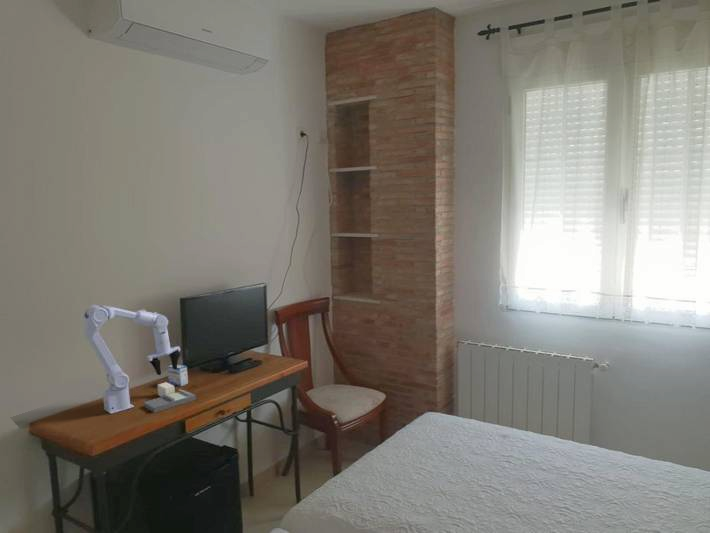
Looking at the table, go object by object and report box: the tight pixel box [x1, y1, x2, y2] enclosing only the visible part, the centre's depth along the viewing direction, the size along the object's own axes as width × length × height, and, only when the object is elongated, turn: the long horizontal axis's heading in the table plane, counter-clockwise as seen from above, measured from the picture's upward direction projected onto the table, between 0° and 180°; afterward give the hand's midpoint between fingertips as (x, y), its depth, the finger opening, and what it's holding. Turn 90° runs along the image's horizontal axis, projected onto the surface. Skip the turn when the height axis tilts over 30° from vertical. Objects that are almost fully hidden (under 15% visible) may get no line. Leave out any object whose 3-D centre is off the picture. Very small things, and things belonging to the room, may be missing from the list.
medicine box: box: [167, 364, 189, 387], centre depth 250 cm, size 8×4×9 cm, turn 62°
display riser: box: [143, 388, 197, 413], centre depth 225 cm, size 18×10×3 cm, turn 134°
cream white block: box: [157, 381, 176, 397], centre depth 234 cm, size 4×8×5 cm, turn 44°
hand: (167, 371), depth 234 cm, fingers open, 7 cm apart
